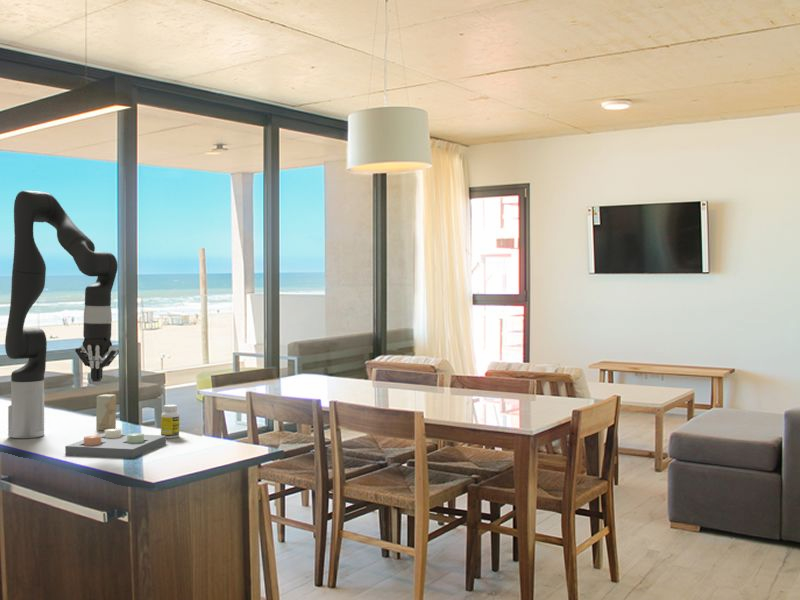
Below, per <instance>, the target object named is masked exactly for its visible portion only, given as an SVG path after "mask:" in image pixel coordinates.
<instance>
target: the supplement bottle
mask: <svg viewBox="0 0 800 600" xmlns="http://www.w3.org/2000/svg"><path fill="white" fill-rule="evenodd" d="M177 410H178V405H177V404H165V405H163V411H164V412H162V413H161V416H160V417H161V419H160V421H161V423H160V424H161V425H160V435H163V436H166V439H175V438H178V437H179V436H180V413H179V412H178V411H177Z"/></svg>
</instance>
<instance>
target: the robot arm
mask: <svg viewBox="0 0 800 600" xmlns="http://www.w3.org/2000/svg"><path fill="white" fill-rule="evenodd" d="M13 223H14V224H13V228H14V233H13V234H14V241H13V243H14V244H13V245H14V246H13V249H14V250H13V260H12V271H11V291H10V292H11V293H10V305H9V315H8V320H7V326H6V332H5V339H4V340H5V341H4V349H5V354H6V356H7V357H8V358H9V359H12V360H21V359H22V360H23V359H28V361H27V362H26V364H24V365H23V366H21V367H19V368H18V369H15V370H14V371H12V372H11V374H10V375H11V376H10V383H11V385H10V388H11V389H10V390H11V391H10V392H11V394H10V395H11V400H10V401H11V403H10V404H11V405H8V407H7V410H8V411H7V414H8V415H7V417H8V418H7V419H8V421H7V423H8V424H7V426H8V427H7V428H8V429H7V431H8V433H7V437H8V438H12V439H34V438H40V437H43V436H45V372H46V366H47V365H46V364H47V349H48V347H47V344H48V342H47V335H46V333H45V331H44V330H43V329H42V328H39V327H37V328H35V327H34V328H33V327H32V328H30V327H29V328H25V327H24V326H25V321H26V318H27V315H28V313H29V311H30V309H31V308H32V307H33V305H34V304H35V303H36V301H37V300H38V299H39V298H40V296H41V295H42V293H43V291H44V288H45V284H46V274H47V273H46V271H47V265H46V263H45V260H44V258H43V255H42V254H41V252H40V249H39V247H38V246H37V243H36V241H35V236H34V225H35V224H34V223H47V224H48V225H50V226H52V227H53V228H54V229H55V230H56V238H57V241H58V243H59V244H60V246H61V247H62V248H63V249H64V250H65V251H66V252H67V253H68V254H69V255H70V256H71V257H72V258H73V261H74V263H75V264H76V266H77V269H78V270H79V272H81V273H82V274H83V275H85V276H87V277H97V278H96V281H95V282H94V284H93V283H92V284H90V285H87V286H86V287H85V289H84V309H83V310H84V311H83V329H82V330H83V332H82V333H83V334H82V335H83V338H84V339H83V341H82V345H81V346H79V347H78V348H75V349H74V350H75V353H76V355H77V356H78V358H79V359H80V360H81V362H82V364H83V365H84V366H85V367H88V368H90V379H91V380H92V382H95V383H96V382H97V383H98V382H101V380H102V379H103V372H104V370H103V369H104V368H106V367H109V366H111V365H110V364H111V363H112V362H113V361H114V360H115V358H116V357H117V355H118V354H119V353H120V351H119V349H115V347H114V346H113V343H112V340H111V339H112V318H113V317H112V306H111V305H112V290H113V286H114V284H115V283H114V282H115V279H116V275H117V274H118V273H117V272H118V265H119V264H118V260H117V258H116V256H115V255H114V254H112V252H108V251H107V252H106V251H95V250H96V247H95V244H94V242H93V241H92V239H90V237H88V236H87V235H86V234H85V233H84V232H83V231H81V229H80V228H78V226H77V225H76V224H75V223H74V222H73V221H72V219H71V218H70V216H69V214H67V212H66V211H65V209H64V208H63V207H62V205H61V203H60V202H59V201H58V200H57V199H56V197H55V196H54V195H52V194H50V193H48V192H45V191H36V190H20V191H19V192H18V193H17V194H16V196H15V198H14V204H13ZM107 354H108V355H107ZM106 355H107V356H106Z"/></svg>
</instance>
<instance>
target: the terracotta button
mask: <svg viewBox="0 0 800 600" xmlns="http://www.w3.org/2000/svg"><path fill="white" fill-rule="evenodd" d="M83 440H84V446H98V445H101V436H96V435H87V436H84V437H83Z"/></svg>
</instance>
